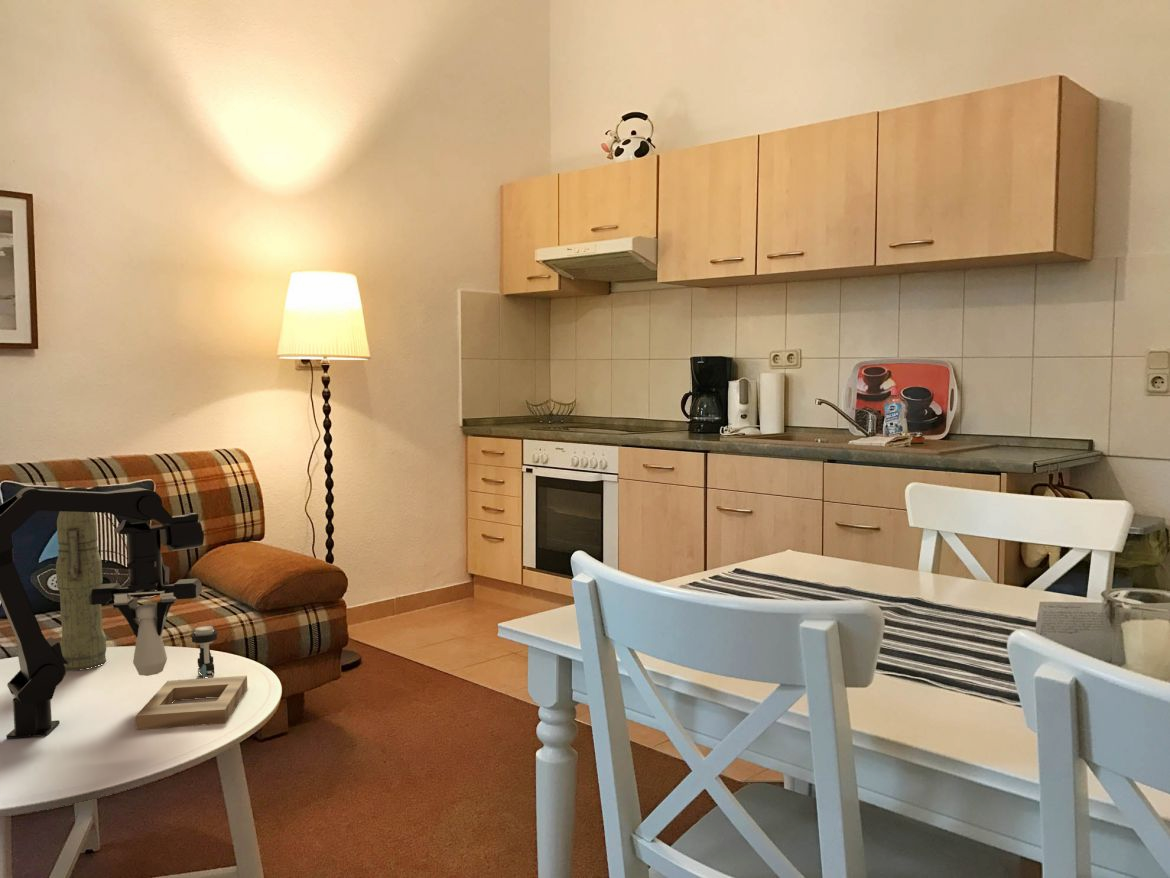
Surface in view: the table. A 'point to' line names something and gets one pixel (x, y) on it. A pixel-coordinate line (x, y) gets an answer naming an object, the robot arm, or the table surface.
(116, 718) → the table surface
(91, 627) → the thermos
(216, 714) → the wooden flat frame
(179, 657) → the table surface
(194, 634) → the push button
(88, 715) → the table surface
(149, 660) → the salt shaker
